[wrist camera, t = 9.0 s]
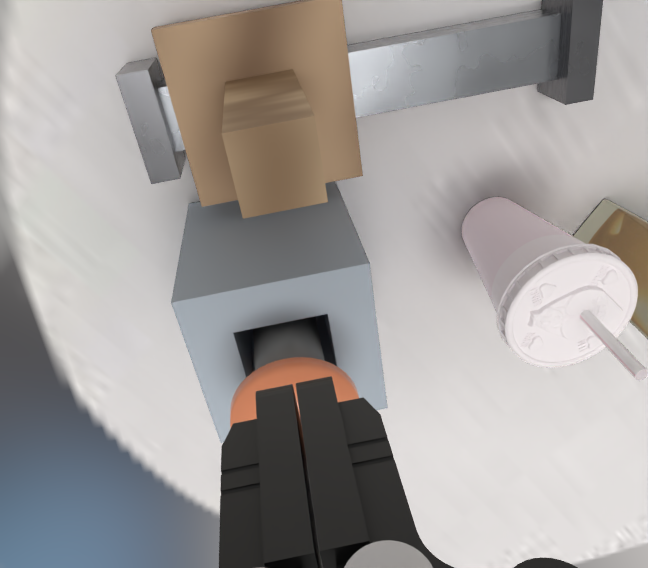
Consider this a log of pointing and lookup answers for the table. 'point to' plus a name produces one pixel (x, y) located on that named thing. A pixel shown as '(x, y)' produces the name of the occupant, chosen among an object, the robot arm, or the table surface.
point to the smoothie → (550, 287)
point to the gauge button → (287, 365)
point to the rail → (413, 71)
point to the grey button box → (274, 293)
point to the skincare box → (622, 248)
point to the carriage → (264, 103)
